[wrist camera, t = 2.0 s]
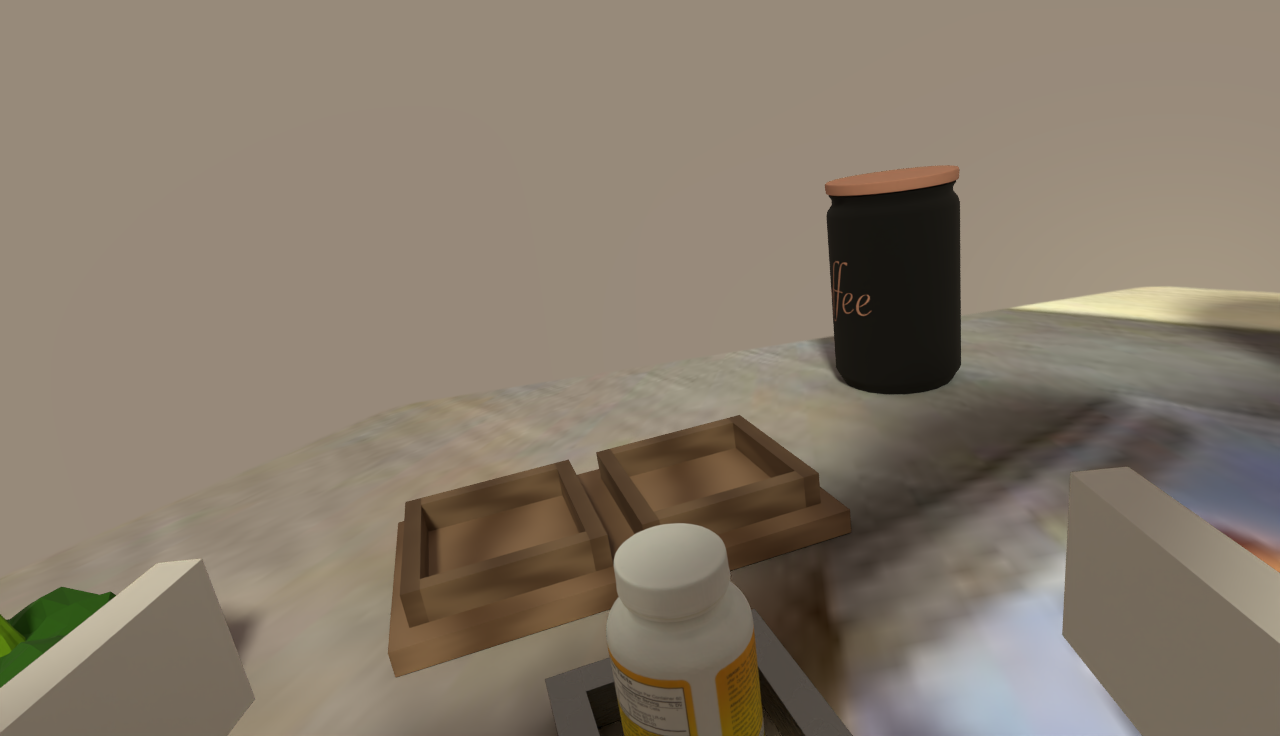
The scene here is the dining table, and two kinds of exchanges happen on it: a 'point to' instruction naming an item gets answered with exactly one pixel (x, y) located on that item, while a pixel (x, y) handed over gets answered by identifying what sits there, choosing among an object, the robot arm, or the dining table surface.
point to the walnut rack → (588, 534)
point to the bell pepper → (43, 627)
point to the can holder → (783, 687)
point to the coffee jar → (896, 278)
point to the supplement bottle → (682, 638)
